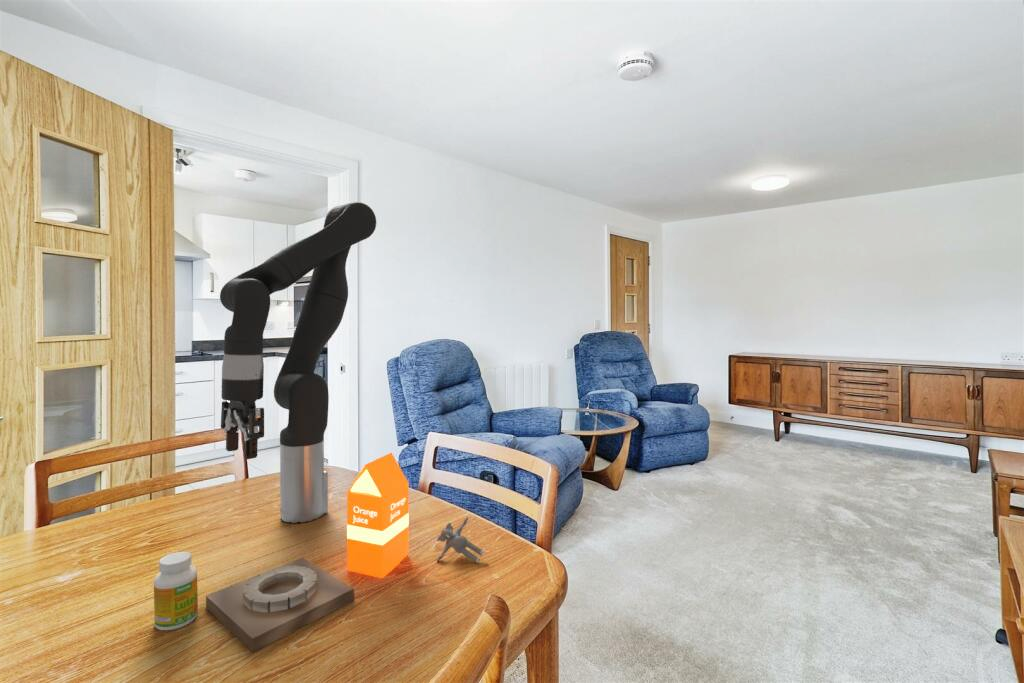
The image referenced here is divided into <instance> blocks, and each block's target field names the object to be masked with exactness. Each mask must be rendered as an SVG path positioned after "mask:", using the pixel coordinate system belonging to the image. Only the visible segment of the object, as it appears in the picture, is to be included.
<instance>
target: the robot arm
mask: <svg viewBox="0 0 1024 683" xmlns="http://www.w3.org/2000/svg"><path fill="white" fill-rule="evenodd" d="M376 227H377V217H376V214H375V212H374V211H373V209H372V208H371V207H370V206H369V205H368V204H366V203H363V202H359V201H351V202H346V203H341V204H337V205H334V206H333V207H332V208H330V209H329V211H328V212H327V214H326V217H325V219H324V223H323V228H322V229H320V230H318V231H317V232H315V233H313V234H310V235H309V236H307V237H304V238H302V239H299V240H298V241H296V242H294V243H292V244H290V245H287V246H286V247H284V248H282V249H281V250H279V251H278V252H277V253H275V254H273V255H272V256H270V257H269V258H268V259H266V260H265V261H264V262H262V263H260V264H259V265H257V266H255V267H252V268H250V269H249V270H247V271H244V272H242V273H240V274H238V275H236V276H235V277H233V278H231V279H230V280H229V281H227V282H226V283H225V284H224V285H223V287H222V288H221V290H220V292H219V299H220V302H221V305H222V306H223V307H224V308H225V309H226V310H228V311H230V312H232V314H233V315H232V320H231V325H229V326H227V328H226V329H225V332H224V339H223V340H224V342H223V343H224V344H223V360H222V366H221V368H222V369H221V399H222V400H223V401H222V402H221V412H220V413H221V414H220V415H221V416H220V428H221V429H223V430H224V434H226V435H225V450H226V452H234V451H238V450H239V440H240V438H239V436H240V433H239V431H240V432H242V434H243V438H244V453H243V454H244V456H243V457H244V458H245V459H246V460H250V459H256V458H257V457H258V443H259V442H258V440H260V439H261V438H264V437H265V408H264V407H257V405H256V401H258V400H261V399H262V398H263V397H264V379H265V378H264V374H265V373H264V370H265V368H264V367H265V365H264V364H265V362H264V332H265V328H266V326H267V323H268V322H267V321H268V318H269V313H270V309H271V296H270V295H272V294H274V293H277V292H279V291H284V290H286V289H288V288H289V287H291V286H292V285H293V284H295V283H297V282H298V281H299V280H300V279H302V278H304V277H305V276H307V274H309V273H310V272H311V271H312V274H311V277H310V281H309V284H308V287H307V290H306V293H305V295H304V299H303V301H302V307H301V310H300V314H299V317H298V321H297V322H296V323H297V324H296V326H295V329H294V332H293V337H292V340H291V343H290V346H289V349H288V352H287V354H286V356H285V359H284V361H283V363H282V366H281V369H279V373H278V375H277V377H276V380H275V382H274V383H275V384H274V387H273V397H274V401H275V402H276V403H277V405H278V406H279V407H281V408H282V409H285V410H288V420H287V425H286V427H284V428H283V429H281V431H280V433H279V463H280V464H279V469H280V470H279V471H280V472H279V475H280V476H279V477H280V479H279V480H280V481H279V482H280V495H279V496H280V499H279V500H280V504H279V505H280V506H279V507H280V508H279V510H280V520H281V519H282V520H281V521H283V522H285V523H289V522H291V523H290V524H298V523H297V522H301V523H305V522H306V521H307V522H311V521H314V520H317V519H319V518H320V517H321V516H323V515H324V514H326V513H328V512H329V511H328V510H329V506H328V505H329V496H328V495H329V492H328V490H329V489H328V488H329V487H328V486H329V482H328V481H329V480H328V479H329V478H328V476H329V474H328V473H329V472H327V471H326V470H325V450H324V449H325V439H324V438H325V433H326V431H327V428H328V420H329V399H330V398H329V397H330V396H329V394H330V393H329V388H328V384H327V382H326V380H325V378H324V377H322V376H321V375H320V374H317V373H315V370H316V366H317V363H318V361H319V357H320V354H321V353H322V351H323V349H324V347H325V346H326V345H327V344H328V342H329V341H330V339H331V338H332V337H333V335H334V334H335V333H336V331H337V330H338V329H339V326H340V325H341V322H342V320H343V317H344V314H345V310H346V307H347V303H348V298H349V286H348V280H347V273H346V265H347V261H348V260H347V259H348V256H349V253H350V250H351V247H352V246H354V245H355V244H357V243H359V242H362V241H365V240H367V239H368V238H370V237H371V236H372V235H373V234H374V232H375V230H376ZM313 519H314V520H313Z"/></svg>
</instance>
